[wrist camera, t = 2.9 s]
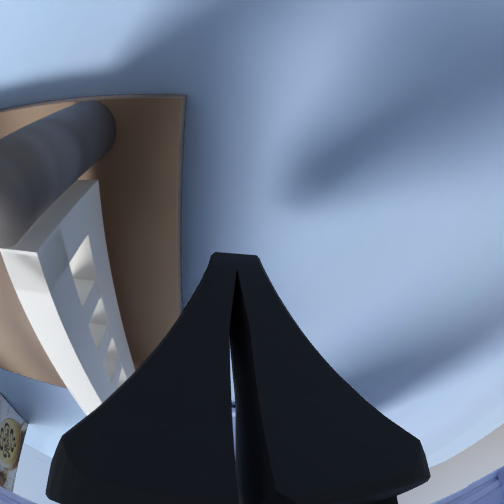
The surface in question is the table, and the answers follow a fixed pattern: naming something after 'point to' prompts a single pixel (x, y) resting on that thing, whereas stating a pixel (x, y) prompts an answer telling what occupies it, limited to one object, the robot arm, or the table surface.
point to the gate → (73, 295)
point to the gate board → (112, 204)
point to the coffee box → (10, 443)
